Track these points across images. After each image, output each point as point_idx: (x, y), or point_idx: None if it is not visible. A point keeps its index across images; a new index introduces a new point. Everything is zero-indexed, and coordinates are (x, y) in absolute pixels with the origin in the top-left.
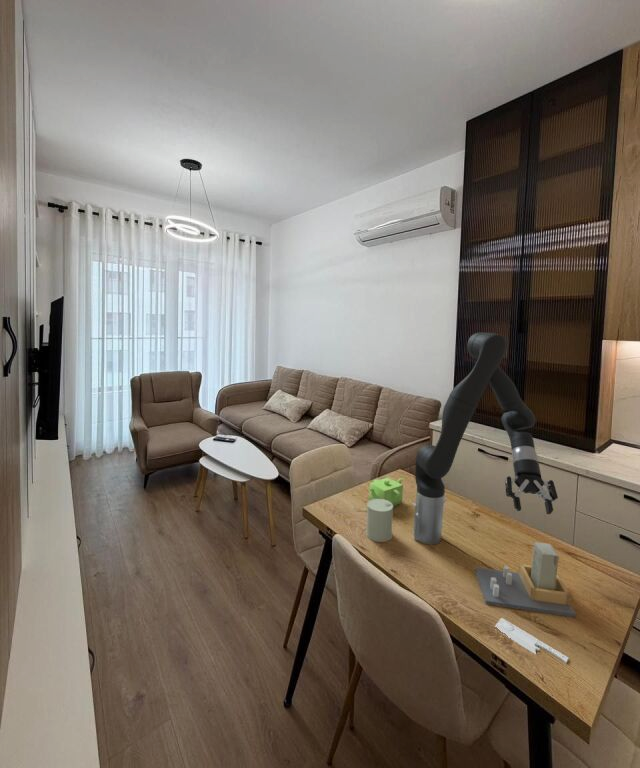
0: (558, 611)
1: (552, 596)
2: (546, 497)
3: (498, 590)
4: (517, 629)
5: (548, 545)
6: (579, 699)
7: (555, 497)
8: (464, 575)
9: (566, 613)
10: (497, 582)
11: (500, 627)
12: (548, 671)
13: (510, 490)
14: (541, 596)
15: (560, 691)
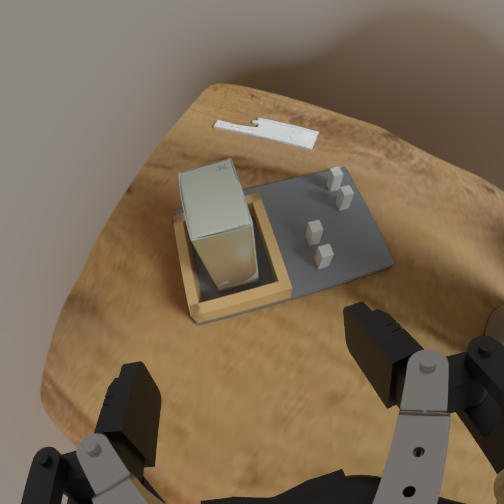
0: None
1: None
2: (116, 451)
3: (329, 173)
4: (284, 137)
5: (199, 224)
6: (215, 93)
7: (48, 456)
8: (404, 234)
9: None
10: (336, 230)
11: (310, 131)
12: (243, 105)
13: (495, 363)
14: None
15: (233, 92)
